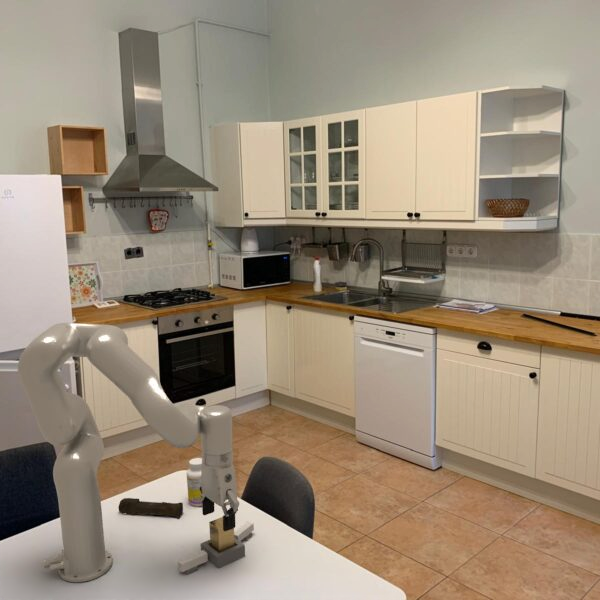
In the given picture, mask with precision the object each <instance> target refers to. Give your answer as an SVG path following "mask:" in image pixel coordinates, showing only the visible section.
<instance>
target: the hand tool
mask: <svg viewBox="0 0 600 600" xmlns="http://www.w3.org/2000/svg"><path fill="white" fill-rule="evenodd" d="M117 508H118V512H119V513H120V512H121V513H120V514H123V513H126V514H125V515H129V514H130V515H129V516H137V515H149V516H150V515H151V516H152V515H153V516H154V515H155V516H156V515H157V516H166V517H167V516H168V517H177V519H180V518H181V517H182V515H183V514H184V513H183V511H184V503H183V502H177V503H176V502H175V503H173V502H165V501H161V502H156V501H145V500H144V501H143V500H142V501H140V498H138V497H137V498H133V497H131V498H130V497H124V498H122V499H121V500H120V501H119V504H118V507H117Z"/></svg>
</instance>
